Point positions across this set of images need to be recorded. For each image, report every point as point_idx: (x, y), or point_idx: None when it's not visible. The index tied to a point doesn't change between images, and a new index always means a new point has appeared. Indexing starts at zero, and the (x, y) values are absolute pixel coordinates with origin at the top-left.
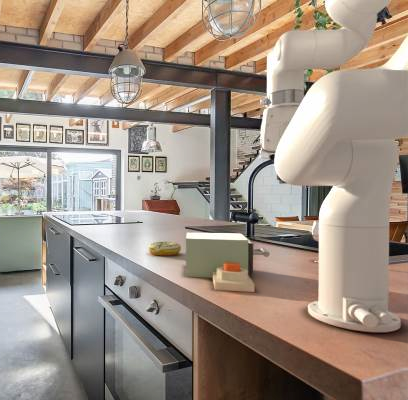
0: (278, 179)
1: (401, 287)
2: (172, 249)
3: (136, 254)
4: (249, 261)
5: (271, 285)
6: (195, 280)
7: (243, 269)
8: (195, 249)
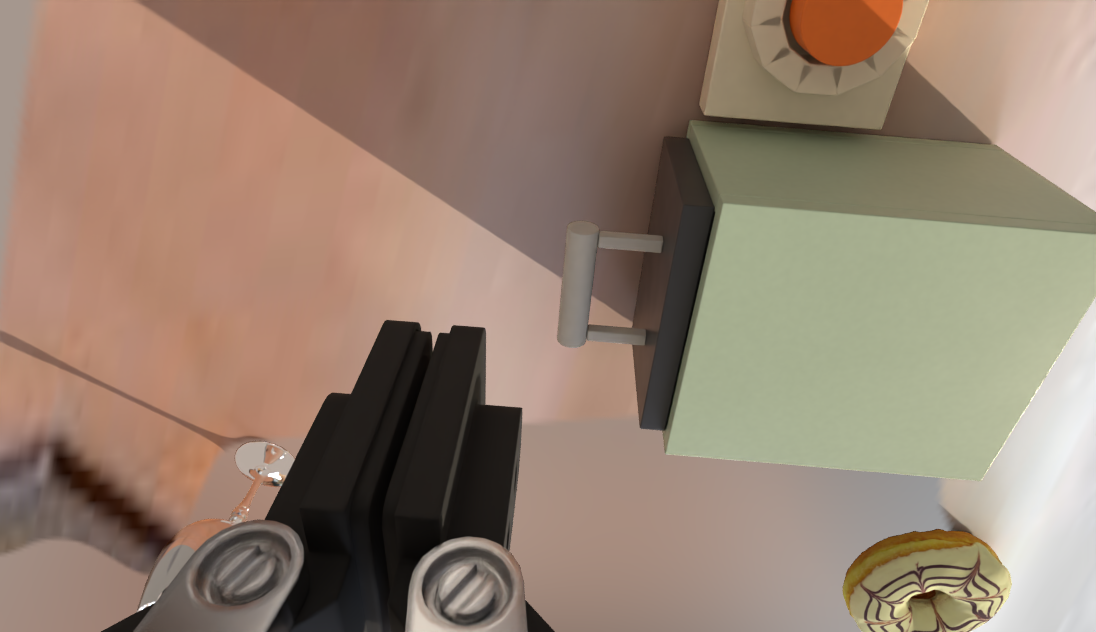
0: (518, 410)
1: (32, 60)
2: (906, 552)
3: (1057, 552)
4: (690, 162)
5: (608, 16)
6: (975, 73)
7: (768, 23)
8: (1027, 199)
